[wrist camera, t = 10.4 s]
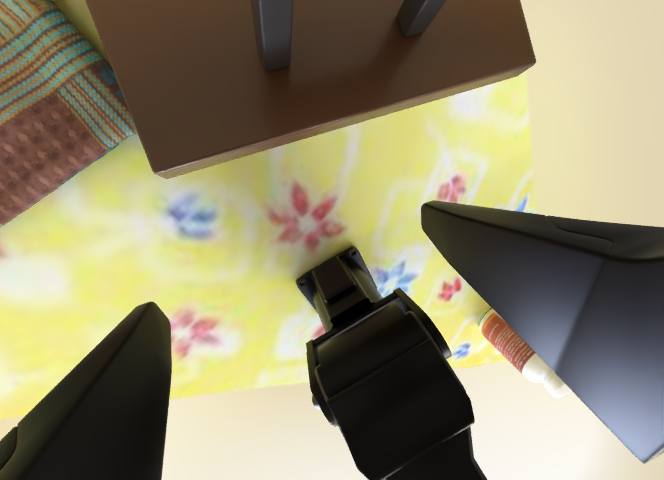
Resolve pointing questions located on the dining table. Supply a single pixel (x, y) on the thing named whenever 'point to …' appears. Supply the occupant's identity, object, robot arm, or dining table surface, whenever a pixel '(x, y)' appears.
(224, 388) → the dining table surface
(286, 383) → the dining table surface
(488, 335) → the pill bottle
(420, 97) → the lid
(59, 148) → the dish towel
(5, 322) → the dining table surface
